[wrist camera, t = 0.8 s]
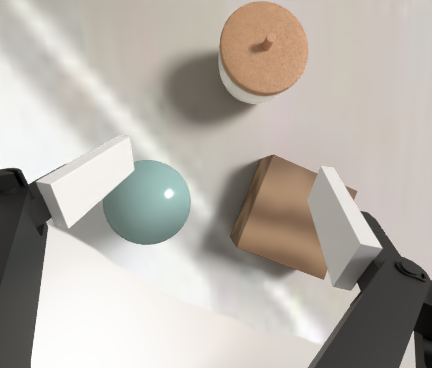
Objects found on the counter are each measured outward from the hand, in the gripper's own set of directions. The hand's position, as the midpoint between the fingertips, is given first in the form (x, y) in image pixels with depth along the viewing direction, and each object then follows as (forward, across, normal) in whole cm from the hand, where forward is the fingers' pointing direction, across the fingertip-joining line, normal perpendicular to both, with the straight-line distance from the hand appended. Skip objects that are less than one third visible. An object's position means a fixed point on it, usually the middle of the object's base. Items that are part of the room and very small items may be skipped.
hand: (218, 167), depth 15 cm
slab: (+14, +9, -14) cm, 22 cm away
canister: (+11, -9, -12) cm, 18 cm away
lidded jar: (+23, 0, +3) cm, 24 cm away
